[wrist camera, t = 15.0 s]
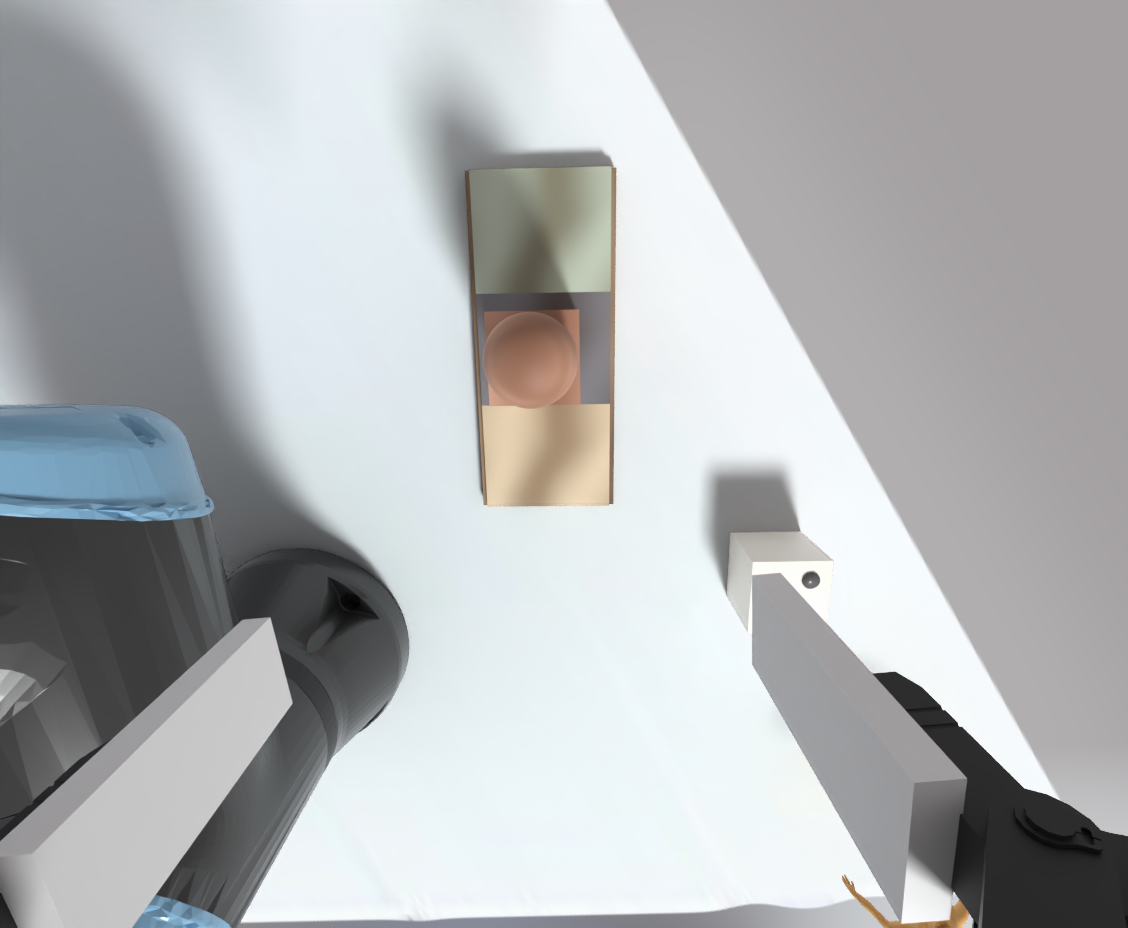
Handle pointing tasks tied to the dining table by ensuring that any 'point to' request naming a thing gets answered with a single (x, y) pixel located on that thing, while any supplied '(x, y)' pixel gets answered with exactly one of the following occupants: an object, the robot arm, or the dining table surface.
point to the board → (547, 282)
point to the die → (777, 569)
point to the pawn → (532, 358)
